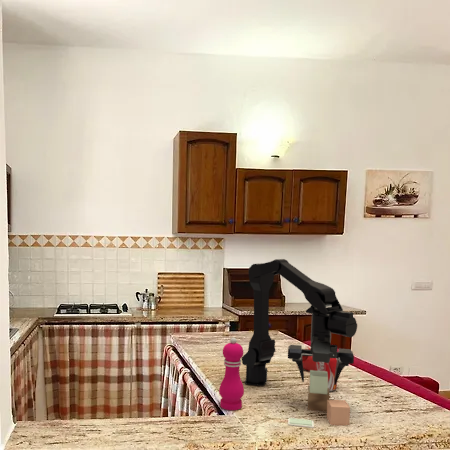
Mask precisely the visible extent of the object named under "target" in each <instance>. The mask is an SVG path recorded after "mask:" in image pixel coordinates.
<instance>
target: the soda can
mask: <svg viewBox="0 0 450 450" xmlns="http://www.w3.org/2000/svg"><path fill="white" fill-rule="evenodd" d="M336 363H337V358H330V362H329V363H325V362H316V371H326V372H327V374H328V388H329V393H330V392H333V391H334V390H336V389H337V388H338V382H337V383H336V385H334V377H335V370H336Z"/></svg>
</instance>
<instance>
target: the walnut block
mask: <svg viewBox="0 0 450 450" xmlns="http://www.w3.org/2000/svg"><path fill="white" fill-rule="evenodd" d="M307 386H308V388H307V389H308V390H307V410H308V411H315V412H324V411H326V412H325V413H327V400H330V397H331V396H330V392H329V388H328V390H327V394H318V393H310V388H309V386H310V385H307Z"/></svg>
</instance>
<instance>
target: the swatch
mask: <svg viewBox="0 0 450 450" xmlns="http://www.w3.org/2000/svg"><path fill="white" fill-rule="evenodd" d="M287 426H292V427H294V426H295V427H304V428H310V429H313V428H315V423H314V420H313V419H312V420H311V419H304V418H295V417H289V418H288V419H287Z"/></svg>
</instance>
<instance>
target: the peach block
mask: <svg viewBox="0 0 450 450" xmlns="http://www.w3.org/2000/svg"><path fill="white" fill-rule="evenodd" d="M350 413H351V407H350V405H349V403H348V402H347V401H346V400H345V399H342V400H341V399H329V400H327V412H326V419H327V421H328V420H329V421H328V422H330V423H329V424H331V425H330V426H346V425H349V426H350V419H351V418H350V417H351V414H350Z"/></svg>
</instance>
